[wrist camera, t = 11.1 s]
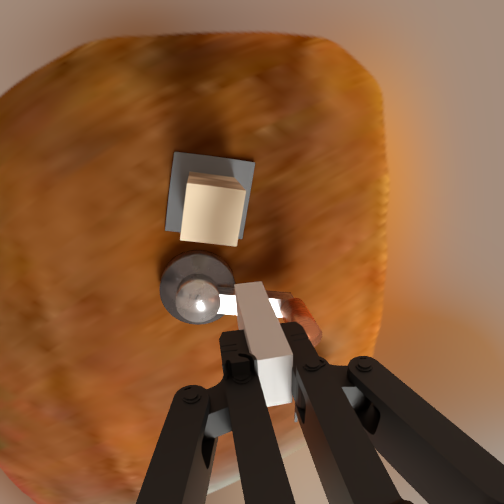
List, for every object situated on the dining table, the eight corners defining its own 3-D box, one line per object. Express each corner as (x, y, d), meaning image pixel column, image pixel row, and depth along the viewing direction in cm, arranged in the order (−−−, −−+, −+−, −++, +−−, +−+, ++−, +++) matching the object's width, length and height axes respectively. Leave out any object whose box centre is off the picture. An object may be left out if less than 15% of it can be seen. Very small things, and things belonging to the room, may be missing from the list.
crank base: (159, 312, 40) (158, 320, 38) (163, 246, 37) (162, 252, 35) (228, 318, 42) (230, 326, 40) (239, 254, 39) (241, 260, 37)
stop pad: (165, 229, 37) (165, 230, 36) (174, 151, 34) (174, 151, 34) (241, 238, 39) (242, 239, 38) (254, 162, 36) (255, 162, 35)
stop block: (183, 215, 36) (180, 240, 28) (189, 171, 35) (187, 183, 26) (227, 220, 37) (236, 246, 29) (234, 177, 36) (246, 190, 27)
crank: (175, 309, 38) (171, 351, 30) (178, 271, 36) (174, 307, 29) (294, 318, 41) (315, 356, 33) (303, 282, 39) (328, 317, 32)
